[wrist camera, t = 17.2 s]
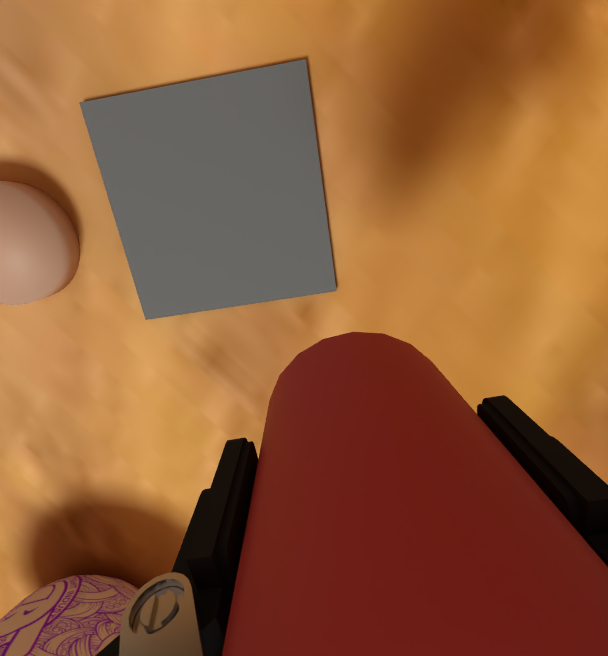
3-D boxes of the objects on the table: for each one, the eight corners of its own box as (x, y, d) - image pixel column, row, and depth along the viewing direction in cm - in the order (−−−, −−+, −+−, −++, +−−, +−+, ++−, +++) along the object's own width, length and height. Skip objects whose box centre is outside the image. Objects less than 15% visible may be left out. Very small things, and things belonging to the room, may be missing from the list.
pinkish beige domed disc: (70, 184, 27) (47, 182, 25) (89, 298, 30) (70, 307, 28) (-50, 178, 27) (-85, 176, 25) (-19, 294, 30) (-48, 302, 28)
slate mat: (305, 61, 24) (305, 59, 24) (336, 289, 29) (336, 290, 29) (83, 104, 25) (79, 102, 25) (148, 318, 30) (145, 319, 30)
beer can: (310, 498, 15) (329, 1391, 4) (240, 366, 13) (-163, 1329, 2) (462, 445, 14) (1101, 1382, 3) (410, 296, 12) (1618, 1252, 1)
